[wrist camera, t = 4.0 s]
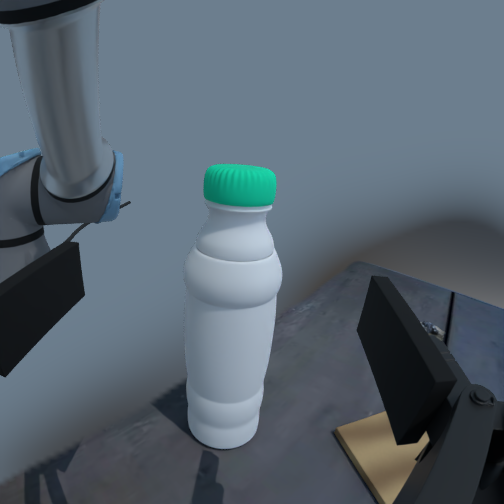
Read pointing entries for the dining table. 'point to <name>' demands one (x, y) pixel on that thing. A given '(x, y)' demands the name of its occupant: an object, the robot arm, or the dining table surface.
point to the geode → (433, 330)
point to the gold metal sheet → (379, 455)
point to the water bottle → (230, 305)
